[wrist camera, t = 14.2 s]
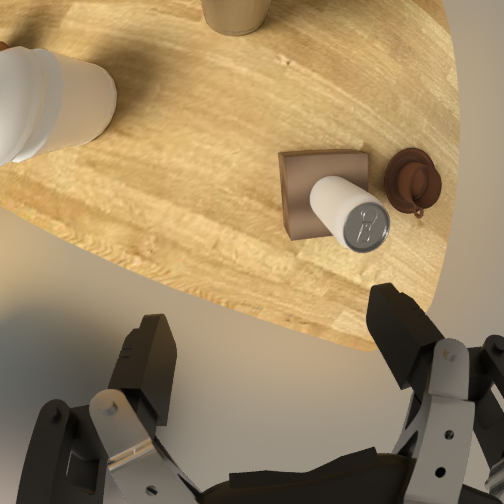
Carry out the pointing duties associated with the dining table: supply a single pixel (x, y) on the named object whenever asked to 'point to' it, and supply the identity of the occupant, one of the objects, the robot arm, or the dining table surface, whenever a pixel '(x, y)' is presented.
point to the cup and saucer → (412, 182)
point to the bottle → (50, 102)
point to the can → (350, 213)
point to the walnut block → (306, 176)
